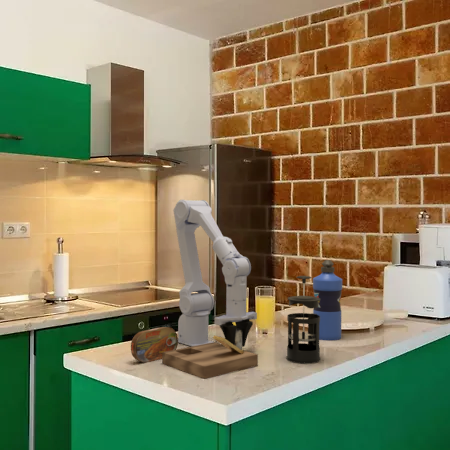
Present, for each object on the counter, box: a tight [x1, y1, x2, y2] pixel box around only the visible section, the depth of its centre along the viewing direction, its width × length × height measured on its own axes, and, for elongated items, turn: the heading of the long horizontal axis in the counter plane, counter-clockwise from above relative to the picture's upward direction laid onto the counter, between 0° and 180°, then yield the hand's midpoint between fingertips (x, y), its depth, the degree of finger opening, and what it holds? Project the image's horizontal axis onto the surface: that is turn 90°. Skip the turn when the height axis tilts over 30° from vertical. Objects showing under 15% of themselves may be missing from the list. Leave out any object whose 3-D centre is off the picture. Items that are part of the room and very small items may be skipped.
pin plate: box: [161, 341, 259, 379], centre depth 151 cm, size 18×18×3 cm
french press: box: [285, 275, 321, 365], centre depth 158 cm, size 12×9×23 cm
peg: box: [234, 328, 243, 350], centre depth 163 cm, size 4×4×7 cm
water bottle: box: [312, 259, 343, 341], centre depth 184 cm, size 9×9×25 cm
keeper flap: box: [212, 335, 245, 354], centre depth 150 cm, size 4×8×1 cm
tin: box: [130, 326, 179, 364], centre depth 157 cm, size 15×3×8 cm, turn 136°
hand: (236, 347), depth 163 cm, fingers closed on peg, 4 cm apart
